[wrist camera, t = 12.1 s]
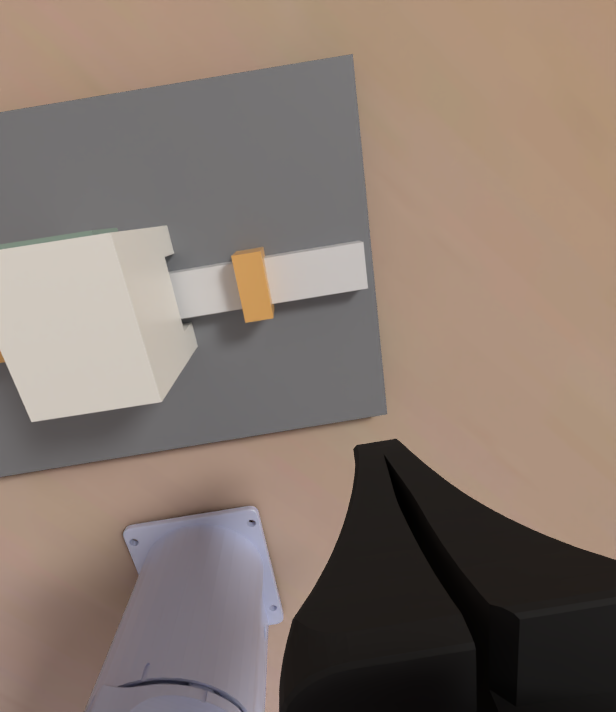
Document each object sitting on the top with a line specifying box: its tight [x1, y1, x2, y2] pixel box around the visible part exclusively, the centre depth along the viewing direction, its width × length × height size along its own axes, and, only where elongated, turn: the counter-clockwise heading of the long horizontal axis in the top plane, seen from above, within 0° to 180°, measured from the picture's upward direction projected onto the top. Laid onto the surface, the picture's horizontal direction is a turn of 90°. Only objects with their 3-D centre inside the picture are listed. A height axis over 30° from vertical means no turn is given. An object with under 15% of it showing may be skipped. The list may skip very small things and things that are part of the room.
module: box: [0, 225, 198, 422], centre depth 16 cm, size 6×4×6 cm
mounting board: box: [0, 54, 387, 477], centre depth 18 cm, size 16×22×3 cm
